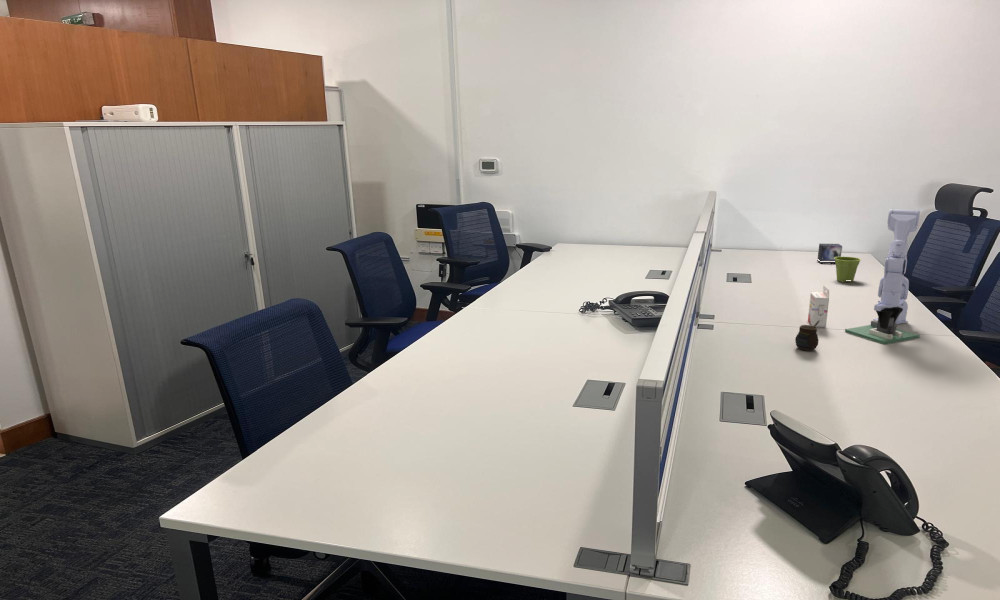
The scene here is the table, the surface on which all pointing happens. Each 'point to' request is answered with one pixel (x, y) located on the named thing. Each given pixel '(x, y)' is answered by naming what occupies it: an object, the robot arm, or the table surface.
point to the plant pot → (846, 268)
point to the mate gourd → (807, 337)
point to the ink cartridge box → (818, 308)
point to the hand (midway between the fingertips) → (886, 327)
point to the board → (880, 337)
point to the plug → (889, 329)
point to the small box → (829, 252)
